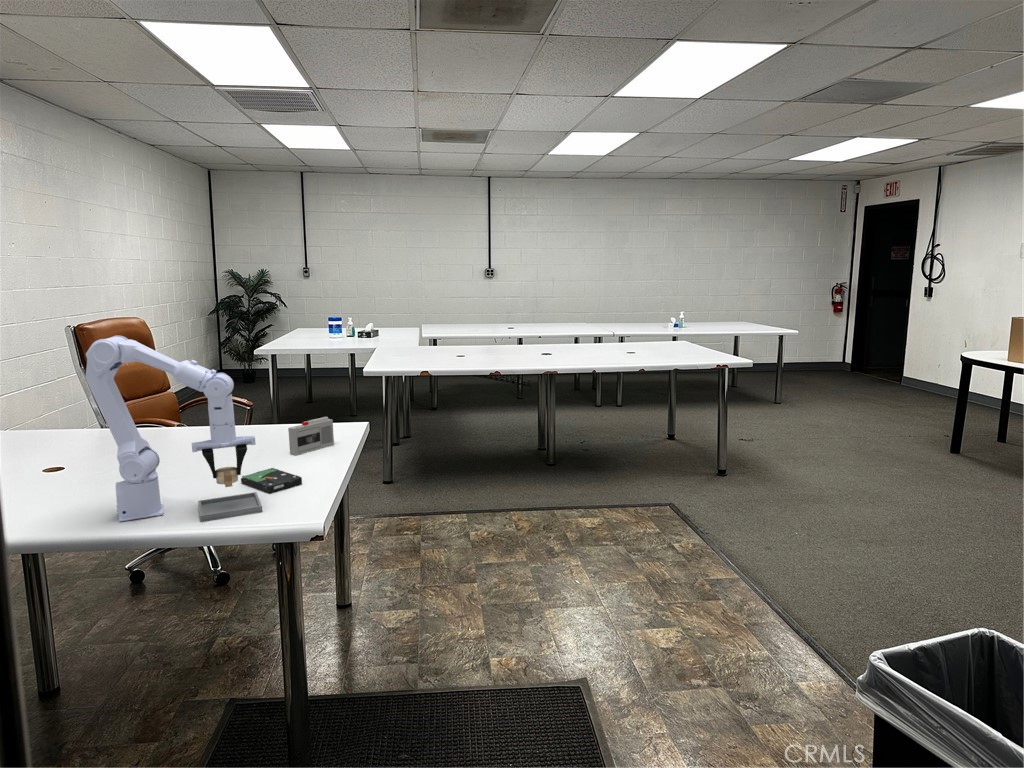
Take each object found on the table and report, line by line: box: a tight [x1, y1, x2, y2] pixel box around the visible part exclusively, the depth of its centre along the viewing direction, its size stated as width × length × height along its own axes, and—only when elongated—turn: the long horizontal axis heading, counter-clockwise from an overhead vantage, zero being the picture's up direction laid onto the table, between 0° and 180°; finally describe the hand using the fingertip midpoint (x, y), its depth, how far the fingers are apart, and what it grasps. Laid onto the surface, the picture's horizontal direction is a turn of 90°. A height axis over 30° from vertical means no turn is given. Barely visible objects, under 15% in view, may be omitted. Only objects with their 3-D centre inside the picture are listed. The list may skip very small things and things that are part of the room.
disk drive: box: [240, 467, 303, 495], centre depth 188 cm, size 10×3×15 cm
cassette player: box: [287, 416, 335, 457], centre depth 222 cm, size 16×3×10 cm, turn 144°
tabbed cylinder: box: [215, 466, 239, 488], centre depth 167 cm, size 8×5×3 cm, turn 27°
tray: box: [197, 491, 263, 523], centre depth 169 cm, size 14×12×2 cm
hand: (226, 475), depth 169 cm, fingers closed on tabbed cylinder, 5 cm apart
